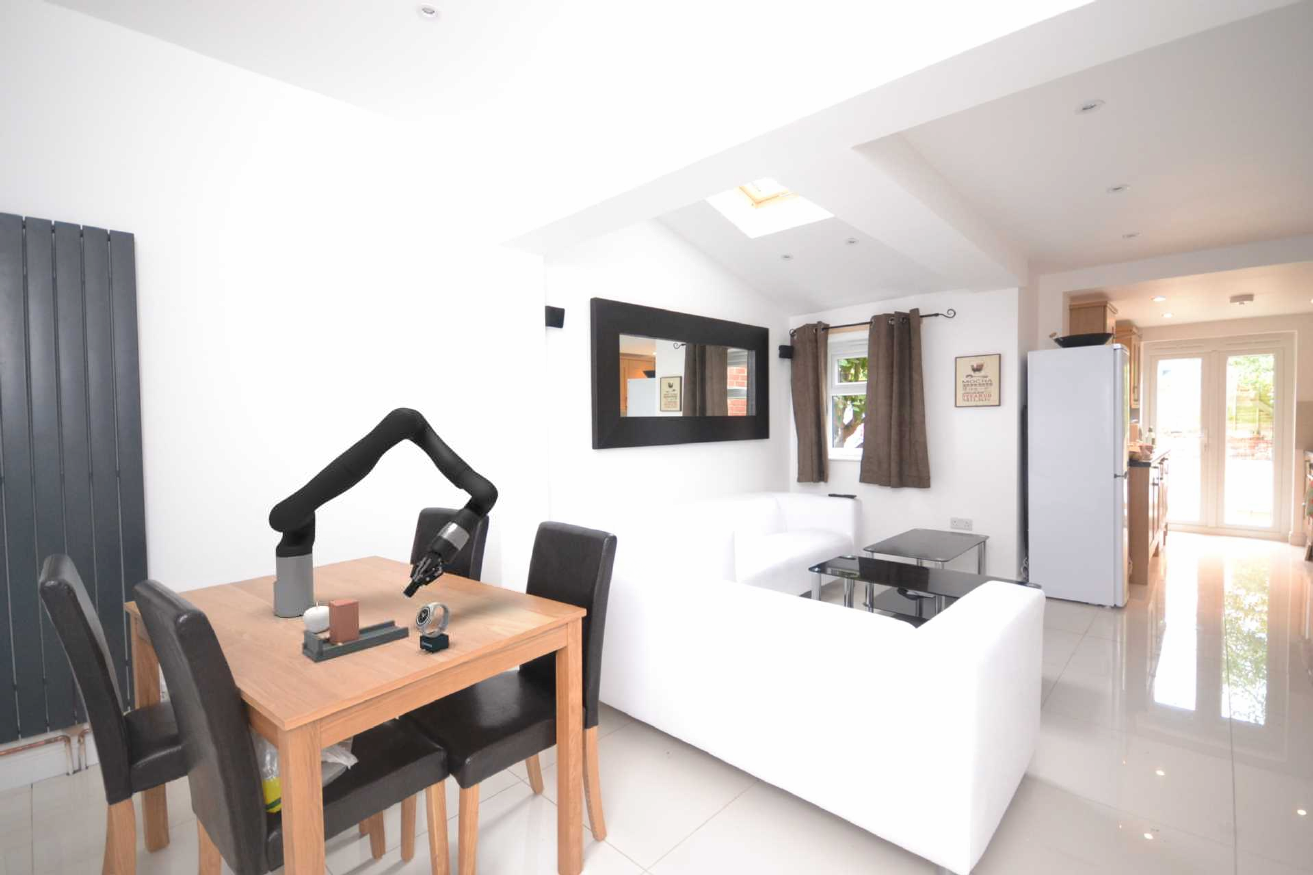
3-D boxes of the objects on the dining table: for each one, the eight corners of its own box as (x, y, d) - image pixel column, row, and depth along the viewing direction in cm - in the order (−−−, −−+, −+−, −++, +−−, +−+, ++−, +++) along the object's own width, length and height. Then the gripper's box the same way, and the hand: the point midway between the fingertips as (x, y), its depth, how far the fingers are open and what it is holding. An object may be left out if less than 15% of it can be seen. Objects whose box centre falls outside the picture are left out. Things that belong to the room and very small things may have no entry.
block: (351, 636, 150) (350, 597, 150) (359, 641, 147) (358, 601, 147) (329, 642, 147) (328, 601, 146) (337, 647, 143) (336, 605, 143)
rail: (392, 628, 160) (392, 609, 160) (409, 636, 154) (408, 616, 154) (301, 652, 144) (301, 631, 144) (316, 662, 138) (315, 640, 138)
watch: (412, 651, 144) (411, 605, 144) (441, 640, 151) (440, 597, 151) (426, 656, 141) (425, 609, 141) (455, 645, 148) (454, 601, 148)
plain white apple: (299, 636, 155) (298, 606, 155) (307, 627, 162) (306, 598, 162) (329, 633, 157) (328, 603, 157) (335, 624, 164) (335, 595, 164)
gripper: (428, 531, 170) (385, 583, 161) (452, 537, 161) (408, 592, 152) (445, 547, 174) (405, 598, 165) (470, 553, 165) (428, 608, 156)
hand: (406, 595), depth 158 cm, fingers closed
